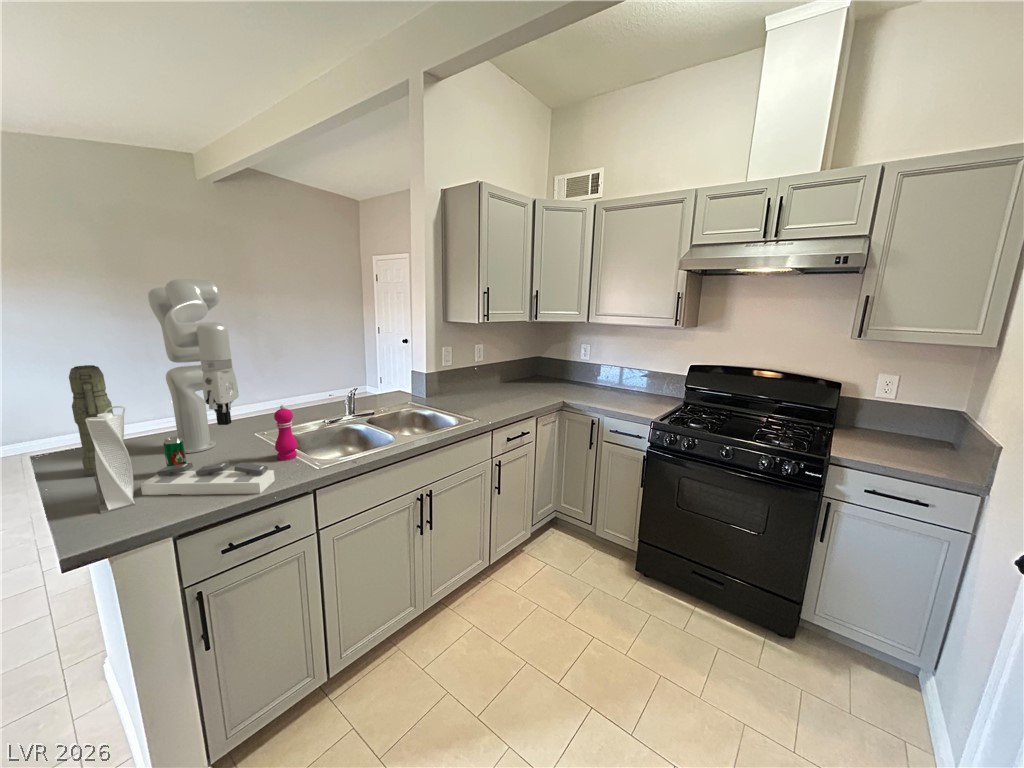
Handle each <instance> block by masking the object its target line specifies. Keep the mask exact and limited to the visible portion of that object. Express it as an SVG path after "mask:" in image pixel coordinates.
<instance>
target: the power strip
mask: <svg viewBox="0 0 1024 768" xmlns="http://www.w3.org/2000/svg"><path fill="white" fill-rule="evenodd" d="M195 471H196V470H187V471H185V472H180V473H176V474H174V475H170V474H168V475H162V476H158V474H157V473H156V475H154V476H152V477H150V478H149V479H146V480H145V481H144V482H141V483H140V488H141V489H140V490H141V495H142V496H160V495H161V496H166V495H168V494H181V495H236V494H237V495H238V494H239V495H240V494H243V495H247V494H249V495H251V494H252V495H254V494H262V493H263V492H264V491H265V490H266V489H268V487H269V486H270V485H272V484H273V483H274V481H275V480H276V479H275V470H272V469H268V470H267V471H266V472H265V473H264V474H262V475H257V474H251V473H250V474H249V475H247V474H246V473H244V472H237V471H234V470H225V471H222V472H216V473H213V474H212V475H209V474H204V475H198V476H197V475H196V472H195Z"/></svg>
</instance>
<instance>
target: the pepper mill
mask: <svg viewBox="0 0 1024 768" xmlns="http://www.w3.org/2000/svg"><path fill="white" fill-rule="evenodd" d="M274 412H275V413H274V414H273V415H274V416H273V418H274V420H275V421H276V424H275V425H276V428H277V429H278V434H277V438H276V439H275V440H276V441H275V443H274V449H275V450H276V452H277V454H276V455H277V459H278V460H279V461H290V460H293V459H295V458H297V457H298V456H297V455H298V454H297V453H298V452H297V448H298V445H299V444H298V441H297V439H296V438H295V437H294V434H293V431H292V426H293V421H292V420H293V419H294V413H293V412H292V410H291V409H289V408H287V407H286V405H285V404H280V406H279V409H277V410H276V411H274Z"/></svg>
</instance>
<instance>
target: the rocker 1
mask: <svg viewBox="0 0 1024 768" xmlns="http://www.w3.org/2000/svg"><path fill="white" fill-rule="evenodd" d="M193 467H194V464H193V462H189V463H187V464H181V465H175V466H168V467H167V466H164V467H162V468H160V469H159V470H158V471H156V475H157V474H158V476H162V475H168V474H170V475H174V474H176V473H180V472H185V471H190V470H191V469H192V468H193Z"/></svg>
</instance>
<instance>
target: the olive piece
mask: <svg viewBox="0 0 1024 768" xmlns="http://www.w3.org/2000/svg"><path fill="white" fill-rule="evenodd" d="M103 373H104V372H102V369H100V367H99V366H96V365H93V364H90V365H85V364H84V365H78V366H77V365H76V366H74V367H71V368H70V371H69V374H68V379H69V386H70V389H71V391H70V392H71V393H72V395H73V396H72V403H71V409H72V414H73V420H74V423H75V424H76V425H77V429H78V433H79V439H80V443H81V448H82V456H81V461H82V462H81V463H82V466H83V468H84V470H85V475H88V476H87V477H96V474H95V470H94V468H95V464H94V462H95V446H94V443H93V441H92V438H91V436H90V433H89V430H88V427H87V424H86V421H85V419H86V418H90V417H98V416H97V415H98V414H102V413H104V412H105V411H106V409H108V408H110V407H113V405H112V401H111V399H110V398H109V397H108V393H107V392H106V389H107V387H106V382H105V381H106V380H105V375H104V374H103ZM107 413H112V415H114V410H113V409H110V410H108V411H107Z"/></svg>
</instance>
